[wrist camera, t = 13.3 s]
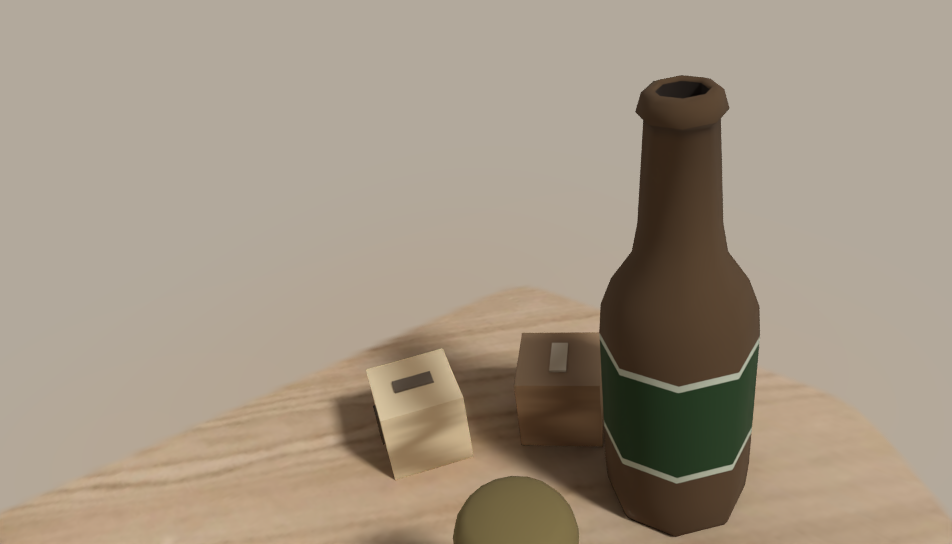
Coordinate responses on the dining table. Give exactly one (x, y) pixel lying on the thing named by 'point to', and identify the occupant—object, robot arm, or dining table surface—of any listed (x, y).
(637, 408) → the beer bottle
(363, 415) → the dining table surface
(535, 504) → the cork
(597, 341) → the walnut cube marked
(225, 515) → the dining table surface
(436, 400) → the beech cube marked
